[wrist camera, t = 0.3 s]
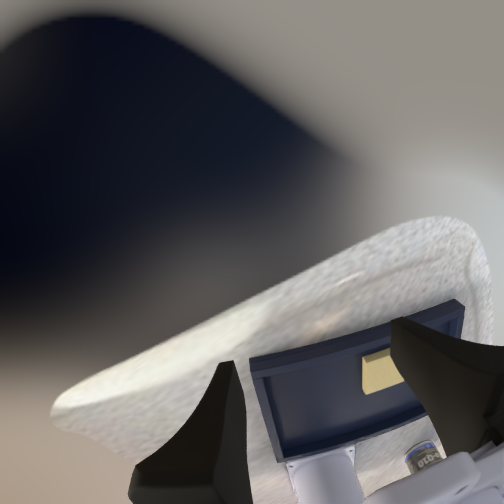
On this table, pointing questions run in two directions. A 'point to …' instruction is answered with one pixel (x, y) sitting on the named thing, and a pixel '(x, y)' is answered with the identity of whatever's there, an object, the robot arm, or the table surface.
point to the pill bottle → (422, 456)
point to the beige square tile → (379, 372)
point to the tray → (337, 389)
